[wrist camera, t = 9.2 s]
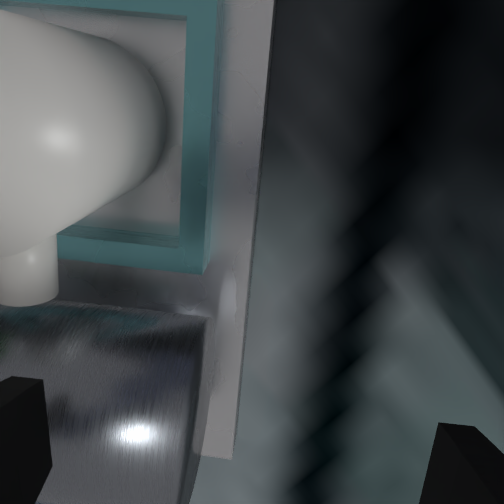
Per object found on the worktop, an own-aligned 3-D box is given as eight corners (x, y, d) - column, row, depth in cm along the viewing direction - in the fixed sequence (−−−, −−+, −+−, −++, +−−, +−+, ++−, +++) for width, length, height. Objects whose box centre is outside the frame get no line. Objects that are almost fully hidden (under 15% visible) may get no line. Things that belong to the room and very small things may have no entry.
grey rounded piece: (169, 43, 14) (76, 8, 8) (161, 255, 16) (83, 345, 10) (7, 26, 14) (-193, -19, 8) (21, 236, 16) (-128, 313, 11)
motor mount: (281, -46, 14) (264, -184, 7) (236, 433, 20) (203, 619, 13) (-96, -75, 15) (-461, -227, 8) (-29, 397, 21) (-196, 556, 14)
